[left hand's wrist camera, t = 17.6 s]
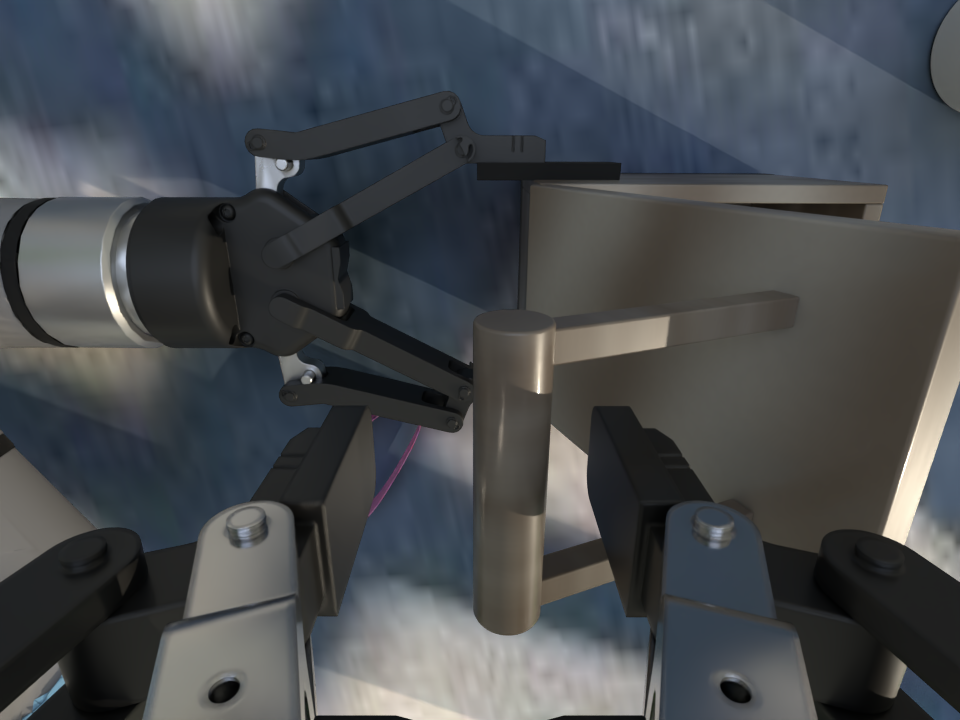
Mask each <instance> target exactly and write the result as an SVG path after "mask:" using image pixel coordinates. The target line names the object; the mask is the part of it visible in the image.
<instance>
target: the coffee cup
mask: <svg viewBox="0 0 960 720" xmlns="http://www.w3.org/2000/svg"><path fill="white" fill-rule="evenodd" d="M931 75H932V80H933V83H934V86H935V89H936V91H937V93H938V94H939V96H940V97H941V99H942V100H943V101H944V102H945V103H946V104H947V105H948V106H950V107H951V108H953V109H954V110H956V111H959V112H960V0H958V1H957V2H956V4H955V5H954V6H953V7H952V8H951V10H950V11H949V12H948V14H947V15H946V17H945V19H944V20H943V22H942V24H941V26H940V28H939V30H938V32H937V35H936V38H935V41H934V44H933V48H932V54H931Z"/></svg>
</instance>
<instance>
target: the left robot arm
mask: <svg viewBox="0 0 960 720" xmlns="http://www.w3.org/2000/svg"><path fill="white" fill-rule="evenodd" d="M375 484H376V467H375V454H374V441H373V428H372V416H371V410H370V407H369V406H368V405H334V406H333V407H332V408H331V410H330V412H329V414H328V415H327V417H326V419H325V421H324V422H323V424H322V426H321V428H307V429H305V430H304V431H302V432H301V433H299V434H298V435H296V436H295V437H293V438H292V439H291V440H290V441H289V442H288V444H287V445H286V447H285V448H284V450H283V451H282V453H281V457H278V459H277V461H276V462H275V464H274V465H273V468H271V470H270V471H269V473H268V474H267V476H266V477H265V479H264V480H263V482H262V483H261V485H260V486H259V488H258V490H257V491H256V493H255V494H254V496H253V497H252V499H251V500H250V502H246V503H242V504H239V505H235V506H233V507H230V508H228V509H226V510H224V511H222V512H220V513H218V514H217V515H215V516H214V517H212V518H211V519H210V520H209V521H208V522H207V523H206V524H205V525H204V526H203V528H202V529H201V531H200V534H199V537H198V541H197V542H193V543H189V544H185V545H180V546H176V547H171V548H166V549H161V550H156V551H151V552H146V553H144V551H143V547H142V543H141V540H140V537H139V535H138V534H137V533H136V532H134V531H132V530H129V529H126V528H102V529H97V530H92V531H89V532H85V533H82V534H79V535H76V536H73V537H71V538H69V539H66V540H64V541H62V542H60V543H58V544H57V545H55V546H53V547H52V548H50V549H48V550H47V551H45V552H44V553H42V554H41V555H40V556H38V557H37V558H35V559H34V560H32V561H31V562H29V563H28V564H26V565H25V566H23V567H22V568H20V569H19V570H18V571H16V572H15V573H13V574H12V575H10V576H9V577H7V578H6V579H4V580H3V581H1V582H0V713H1V712H2V711H3V710H4V709H5V708H7V707H8V706H9V705H10V704H11V703H12V702H13V701H14V700H16V699H17V698H18V697H19V696H20V695H21V694H22V693H23V692H25V691H26V690H27V689H28V688H29V687H30V686H31V685H32V684H34V683H35V682H36V681H37V680H38V679H39V678H40V677H41V676H43V675H44V674H45V673H46V672H47V671H48V670H49V669H51V668H52V667H53V666H54V665H55V664H56V663H57V662H58V665H59V668H60V671H61V673H62V676H63V679H64V682H65V684H64V685H63V686H62V687H60V688H59V689H58V690H57V691H56V692H55V693H54V694H53V695H52V696H51V697H50V698H49V699H48V700H47V701H45V702H44V703H43V704H42V705H41V706H40V707H39V708H38V709H37V710H36V711H35V712H34V713H33V714H32V715H31V716H29V717H28V718H27V719H26V720H411V719H407V718H403V717H400V716H318V714H317V701H316V688H315V675H314V663H313V650H312V642H311V632H312V629H313V627H314V624H315V621H316V618H317V616H338V613H339V609H340V606H341V603H342V600H343V596H344V593H345V590H346V587H347V583H348V580H349V577H350V574H351V570H352V567H353V564H354V560H355V557H356V554H357V551H358V547H359V544H360V541H361V538H362V534H363V531H364V528H365V524H366V521H367V518H368V515H369V511H370V508H371V505H372V502H373V498H374V493H375ZM587 488H588V495H589V499H590V503H591V506H592V509H593V512H594V515H595V519H596V522H597V525H598V528H599V531H600V535H601V538H602V541H603V544H604V547H605V551H606V554H607V557H608V560H609V563H610V567H611V570H612V573H613V576H614V579H615V583H616V586H617V589H618V592H619V595H620V598H621V602H622V605H623V608H624V611H625V614H626V617H647V619H648V622H649V624H650V627H651V628H650V635H649V642H648V650H647V663H646V675H645V688H644V701H643V714H642V716H560V717H557V718H553V719H549V720H934V719H933V718H932V717H931V716H929V715H928V714H927V713H926V712H925V711H924V710H923V709H922V708H921V707H920V706H919V705H918V704H917V703H916V702H915V701H913V700H912V699H911V698H910V697H909V696H908V695H907V694H906V693H905V692H904V691H903V690H902V689H901V688H900V685H901V682H902V679H903V676H904V674H905V671H906V668H907V667H908V668H910V669H911V670H912V671H913V672H914V673H915V674H916V675H917V676H919V677H920V678H921V679H922V680H923V681H924V682H925V683H926V684H928V685H929V686H930V687H931V688H932V689H933V690H934V691H935V692H937V693H938V694H939V695H940V696H941V697H942V698H943V699H944V700H946V701H947V702H948V703H949V704H950V705H951V706H952V707H953V708H955V709H956V710H957V711H958V712H959V713H960V582H959V581H957V580H956V579H954V578H953V577H951V576H950V575H948V574H947V573H945V572H944V571H942V570H941V569H940V568H938V567H937V566H935V565H934V564H932V563H931V562H929V561H928V560H926V559H925V558H923V557H922V556H920V555H919V554H918V553H916V552H915V551H913V550H911V549H910V548H908V547H907V546H905V545H903V544H901V543H899V542H897V541H895V540H892V539H890V538H887V537H885V536H882V535H879V534H875V533H872V532H868V531H862V530H855V529H840V530H835V531H831V532H829V533H828V534H826V535H825V536H824V537H823V539H822V541H821V545H820V549H819V553H814V552H809V551H804V550H799V549H794V548H790V547H785V546H780V545H776V544H772V543H768V542H765V541H762V537H761V534H760V531H759V529H758V528H757V526H756V525H755V524H754V523H753V522H752V521H751V520H750V519H749V518H748V517H746V516H745V515H743V514H742V513H740V512H738V511H736V510H734V509H732V508H730V507H727V506H725V505H721V504H718V503H715V502H714V501H713V499H712V498H711V496H710V495H709V493H708V492H707V490H706V489H705V487H704V486H703V484H702V483H701V481H700V480H699V478H698V477H697V475H696V474H695V472H694V471H693V469H690V465H689V463H688V462H687V460H686V459H685V457H683V456H682V453H681V451H680V450H679V448H678V447H677V445H676V444H675V442H674V441H673V440H672V439H671V438H669V437H668V436H666V435H665V434H663V433H662V432H660V431H659V430H657V429H656V428H642V426H641V424H640V422H639V421H638V419H637V417H636V416H635V414H634V412H633V410H632V409H631V407H630V406H594V407H593V410H592V415H591V426H590V439H589V452H588V464H587Z"/></svg>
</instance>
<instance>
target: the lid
mask: <svg viewBox="0 0 960 720" xmlns="http://www.w3.org/2000/svg"><path fill="white" fill-rule="evenodd" d="M959 381H960V230H952V229H943V228H934V227H925V226H916V225H908V224H899V223H890V222H881V221H872V220H863V219H855V218H846V217H837V216H828V215H819V214H810V213H801V212H793V211H784V210H775V209H766V208H757V207H748V206H740V205H731V204H722V203H713V202H704V201H695V200H687V199H678V198H669V197H660V196H651V195H642V194H633V193H625V192H616V191H607V190H598V189H589V188H580V187H572V186H563V185H554V184H540V185H531V186H530V208H529V236H528V265H527V294H526V310H517V309H507V310H496V311H490V312H486V313H483V314H481V315H479V316H477V317H476V318H475V319H474V322H473V611H474V614H475V617H476V619H477V620H478V622H479V623H480V624H481V625H482V626H483V627H484V628H486V629H487V630H489V631H491V632H493V633H496V634H499V635H517V634H521V633H523V632H526V631H527V630H529V629H530V628H532V627H533V626H534V624H535V623H536V622H537V620H538V618H539V615H540V608H541V605H544V604H547V603H550V602H553V601H556V600H558V599H561V598H564V597H567V596H570V595H573V594H576V593H579V592H582V591H585V590H588V589H591V588H594V587H597V586H600V585H603V584H606V583H609V582H611V581H614V580H615V579H614V576H613V573H612V570H611V567H610V563H609V560H608V557H607V554H606V551H605V547H604V544H603V541H602V538H600V539H596V540H593V541H590V542H587V543H583V544H580V545H577V546H573V547H570V548H567V549H563V550H560V551H557V552H553V553H550V554H547V555H544V556H543V553H544V535H545V517H546V499H547V481H548V463H549V445H550V427H551V424H552V425H553V426H554V427H555V428H556V429H558V430H559V431H560V432H561V433H562V434H563V435H565V436H566V437H567V438H568V439H569V440H571V441H572V442H573V443H574V444H575V445H576V446H578V447H579V448H580V449H581V450H582V451H583V452H585V453H586V454H587V455H588V452H589V439H590V426H591V415H592V410H593V407H594V406H630V407H631V409H632V410H633V412H634V414H635V416H636V417H637V419H638V421H639V422H640V424H641V426H642V428H656V429H657V430H659V431H660V432H662V433H663V434H665V435H666V436H668V437H669V438H671V439H672V440H673V441H674V442H675V444H676V445H677V447H678V448H679V450H680V451H681V453H682V456H683V457H685V459H686V460H687V462H688V463H689V465H690V469H693V471H694V472H695V474H696V475H697V477H698V478H699V480H700V481H701V483H702V484H703V486H704V487H705V489H706V490H707V492H708V493H709V495H710V496H711V498H712V499H713V501H714V502H715V503H718V504H721V505H725V506H727V507H730V508H732V509H734V510H736V511H738V512H740V513H742V514H743V515H745V516H746V517H748V518H749V519H750V520H751V521H752V522H753V523H754V524H755V525H756V526H757V528H758V529H759V531H760V534H761V537H762V541H765V542H768V543H772V544H776V545H780V546H785V547H790V548H794V549H799V550H804V551H809V552H814V553H819V549H820V545H821V541H822V539H823V537H824V536H825V535H826V534H828V533H829V532H831V531H835V530H840V529H855V530H862V531H868V532H872V533H875V534H879V535H882V536H885V537H887V538H890V539H892V540H895V541H897V542H899V543H901V544H903V545H905V542H906V539H907V536H908V533H909V530H910V527H911V524H912V521H913V518H914V515H915V512H916V509H917V506H918V503H919V500H920V497H921V494H922V491H923V488H924V485H925V482H926V479H927V476H928V473H929V470H930V467H931V464H932V461H933V459H934V456H935V453H936V450H937V447H938V444H939V441H940V438H941V435H942V432H943V429H944V426H945V423H946V420H947V417H948V414H949V411H950V408H951V405H952V402H953V399H954V396H955V393H956V390H957V387H958V384H959Z"/></svg>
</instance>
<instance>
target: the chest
mask: <svg viewBox="0 0 960 720" xmlns="http://www.w3.org/2000/svg"><path fill="white" fill-rule="evenodd" d="M540 184H554V185H563V186H572V187H580V188H589V189H598V190H607V191H616V192H625V193H633V194H642V195H651V196H660V197H669V198H678V199H687V200H695V201H704V202H713V203H722V204H731V205H740V206H748V207H757V208H766V209H775V210H784V211H793V212H801V213H810V214H819V215H828V216H837V217H846V218H855V219H863V220H872V221H879V219H880V215H881V211H882V207H883V205H882V203H884V200H885V196H886V192H887V188H888V186H887V185H881V184H870V183H859V182H848V181H837V180H826V179H815V178H804V177H792V176H781V175H773V174H724V173H620V180H521V205H520V239H519V273H518V308H517V310H526V294H527V265H528V236H529V208H530V186H531V185H540Z"/></svg>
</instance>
